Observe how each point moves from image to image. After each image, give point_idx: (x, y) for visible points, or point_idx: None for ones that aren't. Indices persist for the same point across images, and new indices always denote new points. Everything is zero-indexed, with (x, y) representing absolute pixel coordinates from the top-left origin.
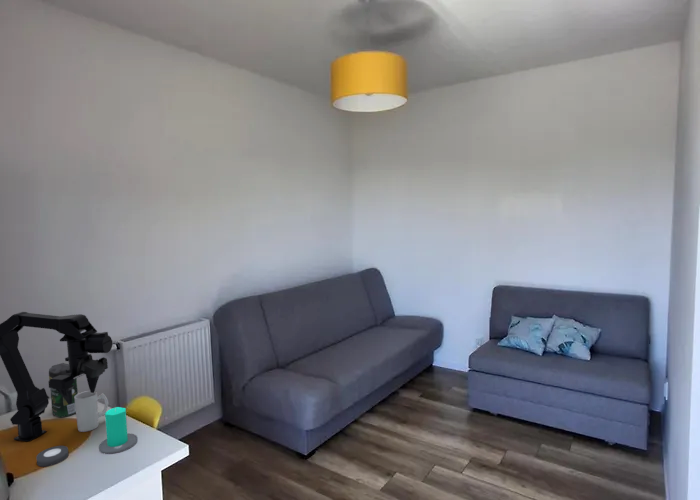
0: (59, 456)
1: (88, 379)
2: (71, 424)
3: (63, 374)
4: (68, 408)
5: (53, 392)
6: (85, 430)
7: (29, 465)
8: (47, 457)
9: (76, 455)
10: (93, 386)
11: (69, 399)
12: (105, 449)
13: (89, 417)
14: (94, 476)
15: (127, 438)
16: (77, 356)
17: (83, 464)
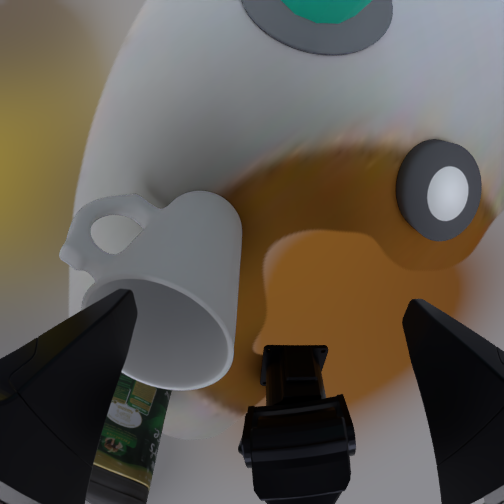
0: (465, 149)
1: (88, 443)
2: None
3: (121, 490)
4: None
5: (158, 445)
6: (236, 214)
7: (457, 235)
8: (471, 188)
9: (415, 112)
10: (97, 333)
11: (462, 329)
12: (382, 10)
13: (216, 219)
14: (478, 6)
15: None
16: None
17: (451, 56)
